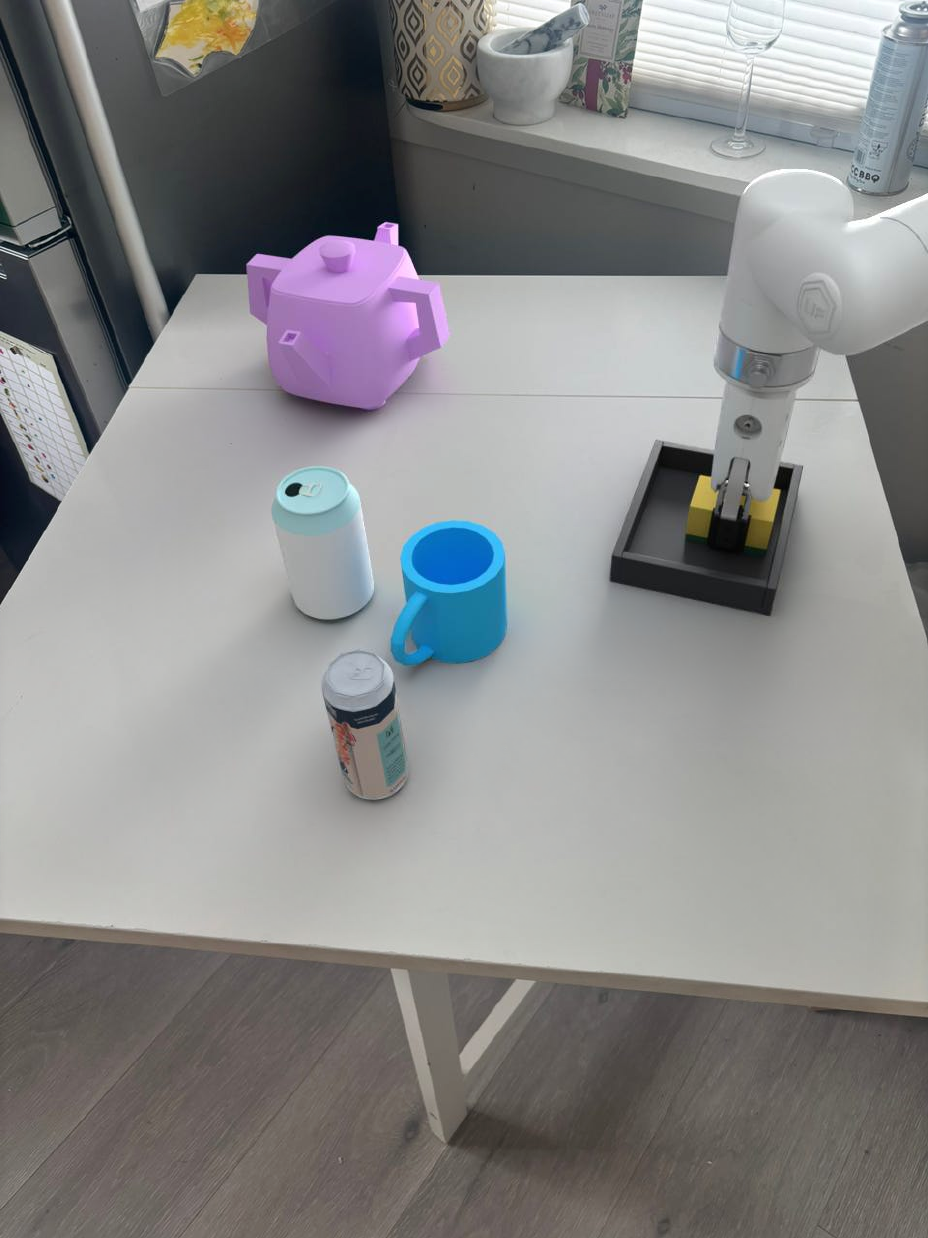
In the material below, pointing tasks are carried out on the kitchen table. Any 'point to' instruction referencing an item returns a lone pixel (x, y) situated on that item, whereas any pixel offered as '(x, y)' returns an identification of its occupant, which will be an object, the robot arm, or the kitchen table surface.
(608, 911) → the kitchen table surface
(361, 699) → the beer can
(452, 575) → the mug
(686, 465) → the tray
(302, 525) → the can
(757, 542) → the sponge
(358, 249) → the teapot
